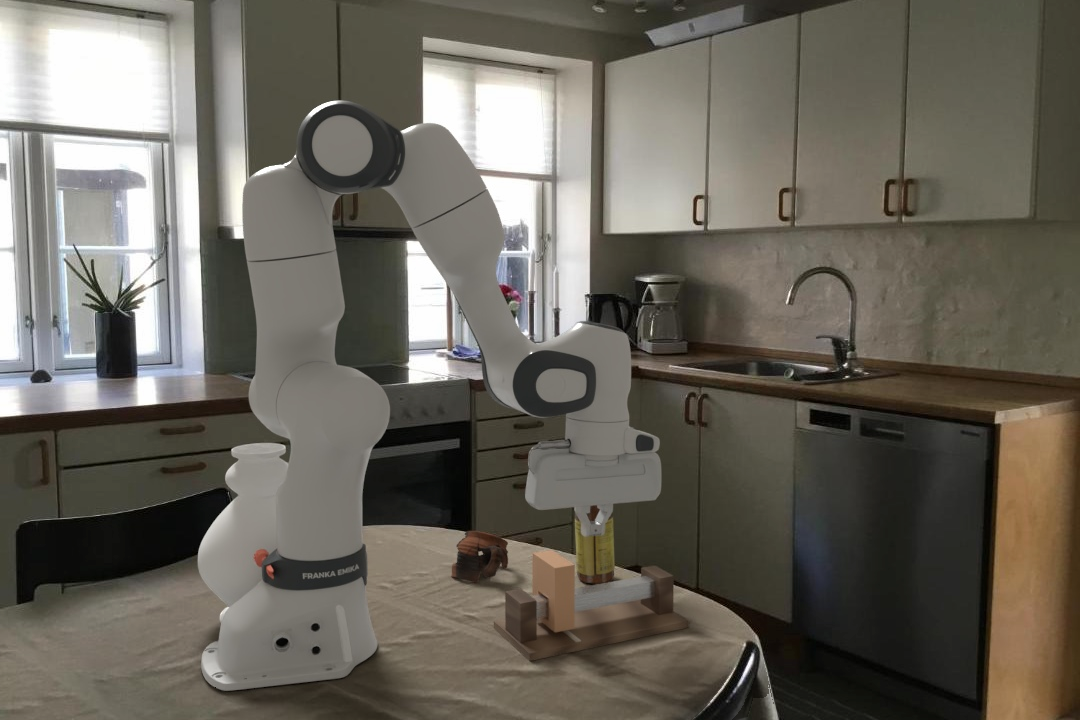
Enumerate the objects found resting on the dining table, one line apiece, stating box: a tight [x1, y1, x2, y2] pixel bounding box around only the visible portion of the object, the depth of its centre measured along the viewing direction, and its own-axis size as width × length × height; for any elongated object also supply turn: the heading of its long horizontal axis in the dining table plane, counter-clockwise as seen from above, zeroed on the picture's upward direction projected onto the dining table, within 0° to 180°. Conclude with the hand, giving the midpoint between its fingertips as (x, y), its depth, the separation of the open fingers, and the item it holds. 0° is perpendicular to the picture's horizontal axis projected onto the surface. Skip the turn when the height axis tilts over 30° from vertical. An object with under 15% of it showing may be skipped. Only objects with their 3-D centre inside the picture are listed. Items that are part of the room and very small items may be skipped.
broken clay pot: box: [450, 530, 509, 584], centre depth 154 cm, size 12×10×8 cm
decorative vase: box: [197, 442, 289, 624], centre depth 135 cm, size 18×18×25 cm
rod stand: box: [493, 564, 690, 662], centre depth 132 cm, size 25×12×6 cm, turn 116°
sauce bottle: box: [574, 505, 615, 585], centre depth 151 cm, size 7×6×20 cm
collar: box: [532, 549, 576, 632], centre depth 129 cm, size 3×7×9 cm, turn 26°
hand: (592, 535), depth 131 cm, fingers closed
